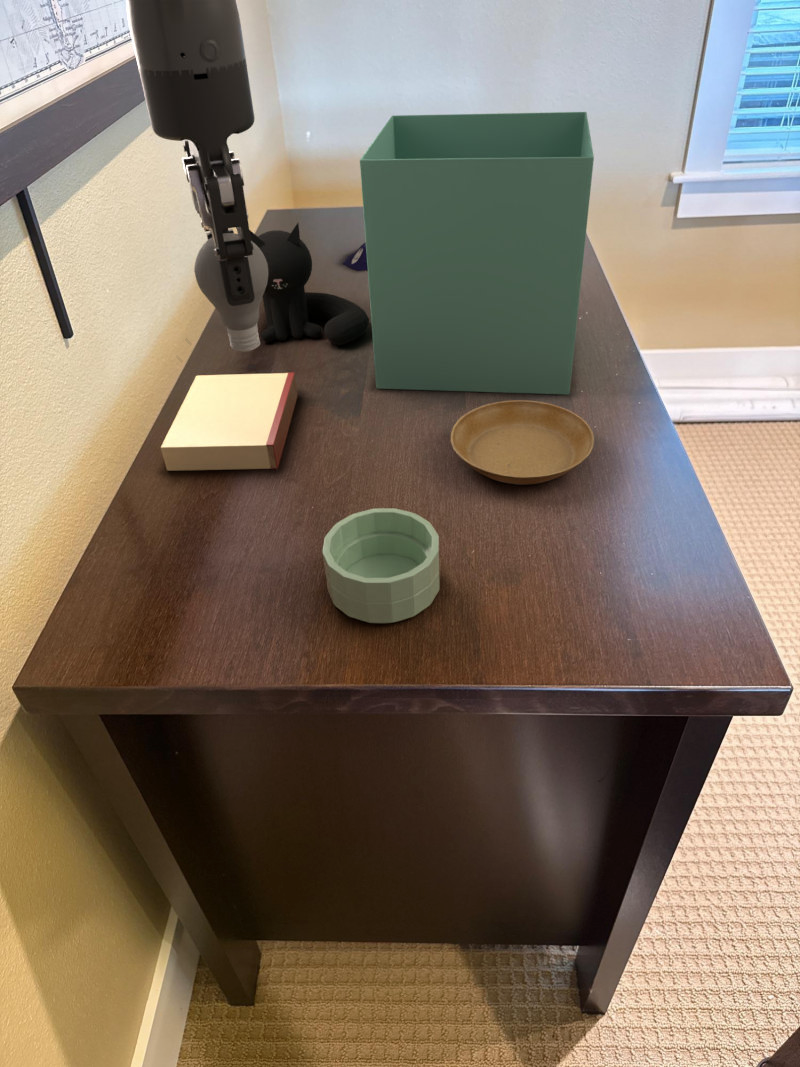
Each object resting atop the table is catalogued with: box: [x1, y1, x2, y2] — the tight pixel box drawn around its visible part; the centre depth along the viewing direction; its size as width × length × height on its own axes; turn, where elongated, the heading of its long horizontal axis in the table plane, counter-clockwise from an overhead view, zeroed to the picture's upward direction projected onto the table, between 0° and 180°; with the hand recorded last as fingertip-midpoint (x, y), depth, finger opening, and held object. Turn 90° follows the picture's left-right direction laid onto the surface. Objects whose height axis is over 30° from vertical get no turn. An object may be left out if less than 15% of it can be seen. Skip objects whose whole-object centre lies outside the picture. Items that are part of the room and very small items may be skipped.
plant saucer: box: [450, 399, 595, 486], centre depth 81 cm, size 15×15×3 cm
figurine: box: [249, 222, 370, 346], centre depth 104 cm, size 16×14×15 cm
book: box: [160, 371, 299, 472], centre depth 88 cm, size 16×12×3 cm
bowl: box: [321, 507, 441, 624], centre depth 66 cm, size 10×10×5 cm
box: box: [359, 111, 595, 396], centre depth 93 cm, size 23×21×26 cm
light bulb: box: [193, 232, 268, 353], centre depth 65 cm, size 6×6×10 cm
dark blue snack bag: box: [342, 241, 368, 272], centre depth 130 cm, size 9×15×4 cm, turn 126°
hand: (234, 288), depth 65 cm, fingers closed on light bulb, 6 cm apart
